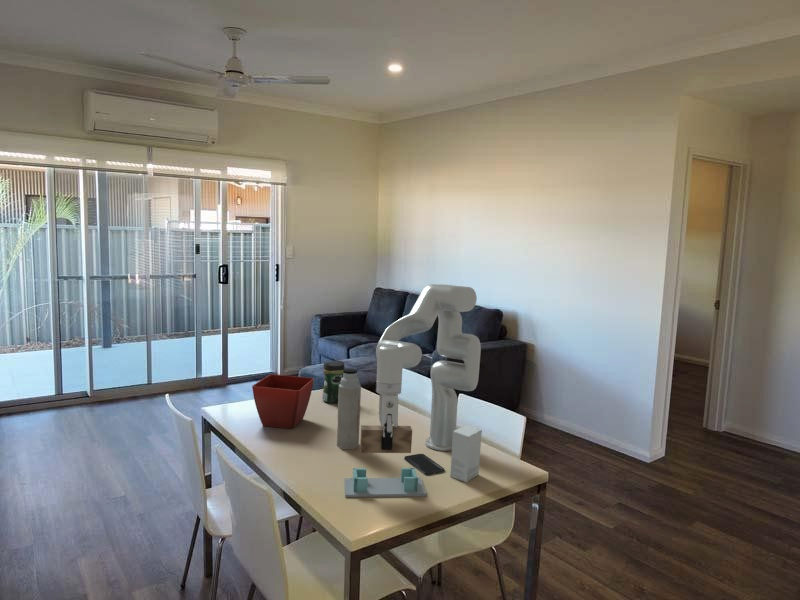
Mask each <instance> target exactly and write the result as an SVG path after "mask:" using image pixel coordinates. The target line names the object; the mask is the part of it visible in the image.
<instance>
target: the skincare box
mask: <svg viewBox="0 0 800 600" xmlns="http://www.w3.org/2000/svg"><path fill="white" fill-rule="evenodd" d="M482 432H483V430H482V429H481V428H478V427H474V426H471V425H467V424H465V425H463V426H461V427H459V428H456V430H455V431H453V441H452V450H451V456H450V457H451V459H450V473H449V474H450V475H449V476H450V478H453V479H455V480H459V481H461V482H464V483H468V482H469V481H470V480H473V479H474V478H476V477H478V476H479V475H480V474H479V473H480V459H481V446H482V435H483V434H482Z"/></svg>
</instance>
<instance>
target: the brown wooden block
mask: <svg viewBox="0 0 800 600" xmlns="http://www.w3.org/2000/svg"><path fill="white" fill-rule="evenodd" d="M385 430H387V429H385ZM382 436H383V427H382V426H381V425H361V426H360V439H359V443H360V444H359V445H360V446H359V450H360V453H361V454H411V453H412V443H413V442H412V441H413V440H412V439H413V429H412V427H411V425H398V427H397V428H395V427H394V425H393V429H392V436H393V440H392V450H382V449H381V441H382Z"/></svg>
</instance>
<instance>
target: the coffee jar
mask: <svg viewBox="0 0 800 600" xmlns="http://www.w3.org/2000/svg"><path fill="white" fill-rule="evenodd" d="M344 369H346V368H345V363H344V361H343V360H330V361H329V360H328V361H327V360H326V361H324V363H323V368H322V370H323V374H324V380H323V381H324V382H323V389H322V390H323V391H322V401H323V402H325V403H329V404H331V403H332V404H333V403H334V404H336V403H338V393H339V384H341V382H340V381H341V378H343V376H344V372H343V370H344Z"/></svg>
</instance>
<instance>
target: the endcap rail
mask: <svg viewBox="0 0 800 600" xmlns="http://www.w3.org/2000/svg"><path fill="white" fill-rule="evenodd" d="M400 474H401V475H400V477H367V468H365V467H361V468H360V467H358V468H357V467H356V468H355V467H354V468H352V478H350V477H348V478H347V477H346V478H344V479H343V482H344V483H343V485H344V497H345V498H386V497H387V498H390V497H391V498H392V497H396V498H397V497H398V498H399V497H404V498H406V497H427V491H426V489H425V486H424V483H423V480H422V478H421V477H418V475H417V471H416V468H415V467H401V473H400Z"/></svg>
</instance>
